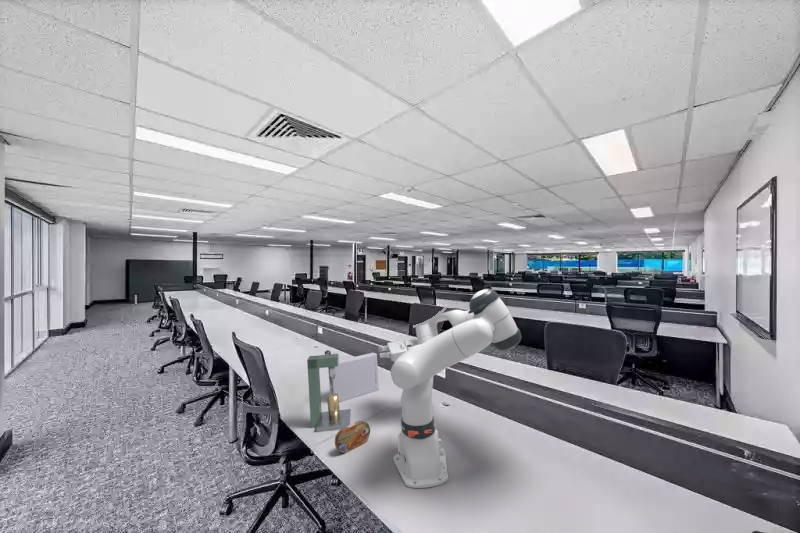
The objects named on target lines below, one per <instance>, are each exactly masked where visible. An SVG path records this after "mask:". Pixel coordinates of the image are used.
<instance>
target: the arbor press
mask: <svg viewBox="0 0 800 533" xmlns="http://www.w3.org/2000/svg"><path fill="white" fill-rule="evenodd" d="M339 360H340V358H339V353H332V352H331V350H325V351H324V354H321V355H309V356H308V358H307V360H306V363H307V364H306V365H307V378H308V379H307V380H308V383H307V384H308V397H309V401H308V402H309V417H310V429H316V431H315V432H316V433H319V432H328V431H338V430H339V431H340V430H341V429H343V428H345V427H347V426H349V425H351V418H352V417H351V416H352V412H351V411H352V409H351V408H348V409H346V408H345V409H340V418H339V419H337V420H329V413H328V411H322V394H321V392H322V391H321V377H320V376H321V374H320V369H323V368H325V369H326V368H328V380H329V379H335V378H336V375H335V367H337V366H338V364H339Z"/></svg>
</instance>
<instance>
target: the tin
mask: <svg viewBox="0 0 800 533" xmlns="http://www.w3.org/2000/svg"><path fill="white" fill-rule="evenodd" d="M370 435H371V427H370V424H369V423H368V422H366V421H362V420H357V421H355V422H352V423H350V425H349V426H347V427H345V428H343V429H339V431H338V432H337V434H336V435H335V438H334V445H335V448H336V450H338V451H339V452H340V453H342V454H347V453H349V452H352V451H353V450H354V449H356V448H358V447H361V446H362V445H364V444H365V443H366V442H367V441H368V440H369V437H370Z"/></svg>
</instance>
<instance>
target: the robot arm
mask: <svg viewBox="0 0 800 533" xmlns="http://www.w3.org/2000/svg"><path fill="white" fill-rule="evenodd" d="M468 306H469V309H468V310H464V309H462V308H461V307H460V308H459V307H452V308H451V307H450V308H445V309H444V310H443V311H442V312H440V313H439V314H438V315H437V316H436V317H434V318H433V319H431V320H429V321H427V322H425V323H423V324H420V325H417V326H414V328H415V329H414V330H415V334H416V339H406V340H404V341H403V342H402V341H393V342H387V345H384V346H380V347H378V352H380V353H379V358H382V359H383V358H384V359H386V358H387V359H390V361H391V362H394V363H393V364H392V366H391V369H390V376H391V377H390V378H391V380H392V382H393V384H395V386H397V387H398V388H400V389H401V390H402V393H401V395H400V396H401V397H400V400H401V401H400V402H401V420H400V428H401V430H400V433H398V435H397V453H396V454H395V455H394V456H393V457H392V458H393V459H392V460H393V463H394V465H395V467H396V469H397V470H398V473H399V474H400V477H401V478H402V481H403V483H404V485H405V486H406V487H409V488H411V489H412V488H414V489H424V488H431V487H436V486H440V485H443V484H445V483H447V482H448V481H449V475H448V474H449V472H448V466H447V457H446V451H445V448H444V447H441V446H439V444H441V443H442V440H441V438H439V431H438V430H437V428H436V423H435V418H434V414H433V412H434V411H433V388H434V376H436V375H438V374H439V373H441V372H443V371H444V370H446V369H447V368H450V367H451V366H454V365H455V364H457V363H460V362H462V361H464V360H466V359H468V358H470V357H472V356H474V355H475V356H476V354H478V353H480V352H481V351H483V350H484V349H486V348H487V347H488V346H490V345H492V346H493V347H494V348H495V349H496V351H497V350H498V351H501V352H504V351H506V352H507V351H508V350H512V349H514V348H515V347H516V346H517V345H519V343H521V340H522V338H523V337H522V333H521V330H520V328H519V327H518V326H517V324H516V321H515V320H514V317H513V316H512V315H511V313H510V310H509V309H508V307H507V306H506V304H505V303H504V301H503V300H502V299H501V298H500V295H499V294H498V293H497V292H496V291H495V290H494V289H493V288H486V289H485V288H484V289H482V290H479V291H477V292H475V293H474V295H473V296H472V297H471V298H470V301H469V305H468ZM444 321H445V322H446V321H449V323H450V324H451V326H452V327H451V328H449V329H447V330H445V331H442V332H441V333H439V332H438V323H441V322H444ZM384 351H386V352H384Z"/></svg>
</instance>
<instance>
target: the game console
mask: <svg viewBox="0 0 800 533" xmlns="http://www.w3.org/2000/svg"><path fill="white" fill-rule="evenodd" d="M378 369H379V368H378V354H377V353H375V352H371V353H365V354H360V355H358V356H357V355H356V356H353V357H349V358H344V359H339V364H338V366H337V367H335V375H336V378H335V379H329V378H328V380H329V381H328V382H329V383H328V385H329V394H332V393H337V394H338V395H339V403H341V402H344V401H347V400H351V399H353V397H354V398H356V396H357V397H359V395H360V396H362V395H367V394H370V393H372V392H375V391H378V390H380V388H379V384H380V383H379V370H378ZM340 401H341V402H340Z"/></svg>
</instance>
